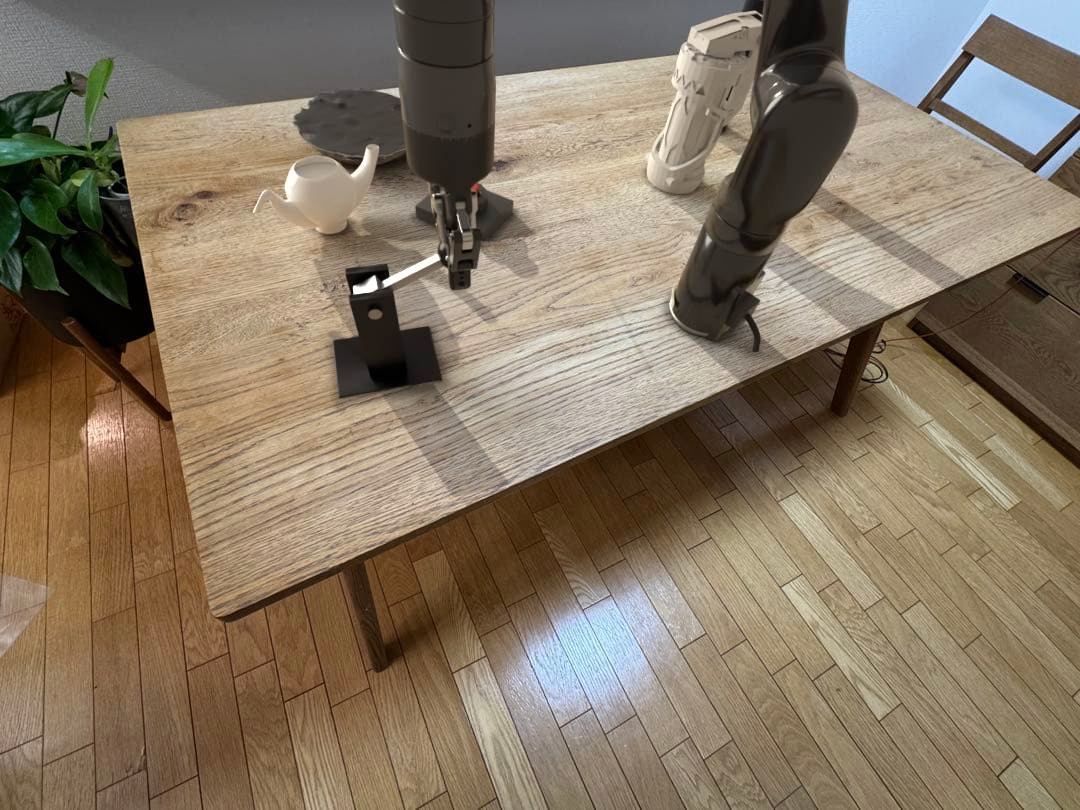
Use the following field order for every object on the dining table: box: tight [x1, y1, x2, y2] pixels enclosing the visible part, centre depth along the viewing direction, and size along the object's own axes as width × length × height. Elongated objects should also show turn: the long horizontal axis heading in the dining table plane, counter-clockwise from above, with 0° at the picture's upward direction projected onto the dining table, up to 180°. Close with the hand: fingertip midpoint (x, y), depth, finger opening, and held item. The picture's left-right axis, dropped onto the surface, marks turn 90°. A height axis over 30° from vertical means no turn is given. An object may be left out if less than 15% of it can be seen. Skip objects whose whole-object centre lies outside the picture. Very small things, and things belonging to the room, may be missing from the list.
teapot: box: [252, 144, 379, 235], centre depth 74 cm, size 10×20×9 cm, turn 134°
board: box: [292, 88, 407, 166], centre depth 89 cm, size 22×22×5 cm
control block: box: [414, 182, 515, 243], centre depth 81 cm, size 12×10×4 cm
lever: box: [353, 241, 448, 294], centre depth 54 cm, size 13×4×4 cm, turn 107°
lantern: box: [643, 11, 763, 195], centre depth 85 cm, size 13×10×25 cm
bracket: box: [332, 263, 443, 399], centre depth 59 cm, size 12×9×14 cm
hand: (455, 273), depth 56 cm, fingers closed on lever, 3 cm apart
